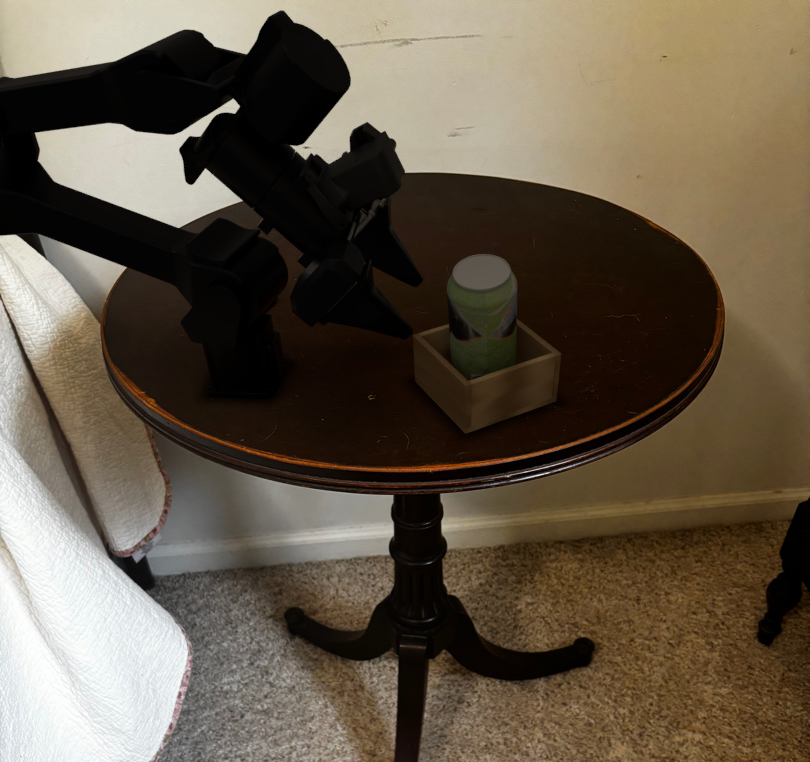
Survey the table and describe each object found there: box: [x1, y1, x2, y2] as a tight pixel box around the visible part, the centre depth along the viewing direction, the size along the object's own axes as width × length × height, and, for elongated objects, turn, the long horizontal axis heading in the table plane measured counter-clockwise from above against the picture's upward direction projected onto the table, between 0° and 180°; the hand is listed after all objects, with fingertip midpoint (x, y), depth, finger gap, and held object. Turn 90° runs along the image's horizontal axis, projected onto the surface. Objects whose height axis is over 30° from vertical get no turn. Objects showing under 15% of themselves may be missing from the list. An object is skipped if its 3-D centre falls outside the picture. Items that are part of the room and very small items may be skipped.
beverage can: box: [446, 253, 518, 381], centre depth 72 cm, size 6×7×12 cm
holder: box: [412, 318, 562, 435], centre depth 74 cm, size 10×10×5 cm
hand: (415, 308), depth 71 cm, fingers open, 9 cm apart
